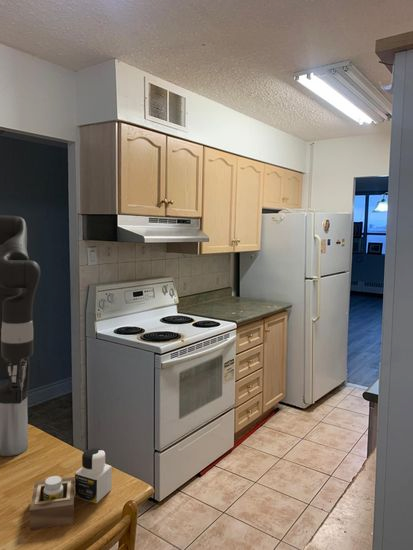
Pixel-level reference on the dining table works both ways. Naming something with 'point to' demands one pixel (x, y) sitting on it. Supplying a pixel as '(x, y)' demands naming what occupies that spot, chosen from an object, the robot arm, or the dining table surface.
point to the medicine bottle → (93, 476)
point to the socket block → (52, 506)
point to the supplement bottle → (53, 488)
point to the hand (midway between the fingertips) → (17, 402)
